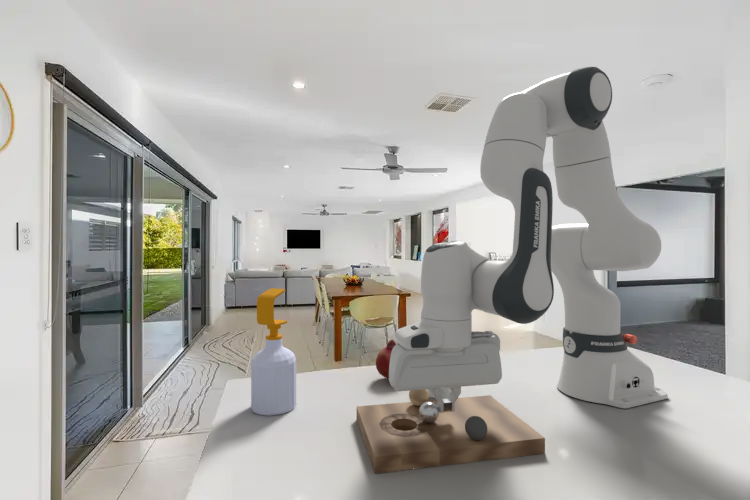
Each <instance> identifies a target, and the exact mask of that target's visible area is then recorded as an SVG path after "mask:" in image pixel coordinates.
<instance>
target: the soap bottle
mask: <svg viewBox="0 0 750 500" xmlns="http://www.w3.org/2000/svg"><path fill="white" fill-rule="evenodd" d="M284 293H286V289H285V288H278V287H277V288H275V287H273V288H272V287H271V288H268V289H267V290H265V291H264V292H263V293H261V294H260V295H258V297H257V299H256V322H257V324H258V325H263V326H266V330H267V329H268V330H269V334H267V335H266V336H265V346H264V347H263V348H261V350H259V351H258V352H256V353H255V354H254V355H253V356H252V359H251V362H250V370H251V371H250V372H251V373H250V378H251V379H250V380H251V381H250V387H251V388H250V389H251V391H250V393H251V394H250V397H251V398H250V400H251V401H250V404H251V406H250V408H251V411H252V412H253V413H255V414H256V415H259V416H277V415H278V416H279V415H283V414H285V413H288V412H290V411H292V410H293V409H294V408H295V406H296V405H297V358H296V356H295V353H294V352H293V351H292V350H290V349H288V348H287V347H284V346H283V334H279V329H281V328H282V327H281V326H282V325H285V324H288V320H283V319H275V317H274V316H275V315H274V314H275V313H274V311H275V309H274V308H275V300H276V299H277V298H278V297H279V296H282V294H284Z"/></svg>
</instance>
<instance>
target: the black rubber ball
mask: <svg viewBox="0 0 750 500" xmlns="http://www.w3.org/2000/svg"><path fill="white" fill-rule="evenodd" d="M465 430H466V433H467V434H468V436H469V437H470V438H472V439H474V440H480V439H483V438H484V437H485V436H486V434H487V424H486V422H485V421H484V420H483V419H482V418H481V417H478V416H472V417H470V418H468V419H467V421H466V423H465Z"/></svg>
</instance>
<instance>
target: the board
mask: <svg viewBox="0 0 750 500" xmlns="http://www.w3.org/2000/svg"><path fill="white" fill-rule="evenodd" d="M428 402H433V403H434V404H435V405H436V406H437V399H429V401H428ZM419 409H420V406H416V405H414V404H413V403H412V402H411V401H407V402H405V401H404V402H395V403H382V404H370V405H359V406H357V405H356V422H357V425H358V427H359V430H360V434H361V436H362V437H361V438H362V439H363V442H364V446H365V448H366V452H367V455H368V458H369V460H370V463H371V466H372V469H373V472H374V474H375V475H376V474H383V473H384V474H385V473H386V474H387V473H393V472H401V470H403V471H408V470H407V469H411V470H416V469H415V468H419V469H423V468H422V467H428V468H434V466H436V467H443V466H451V465H458V464H459V465H460V464H468V463H475V462H476V463H477V462H485V461H494V460H500V459H509V458H519V457H526V456H535V455H541V454H546V437H544V436H543V435H542V434H541V433H539V432H538V430H537V431H536V429H534V428H533V427H532V426H530V425H529V424H528V423H527V422H525V421H524V420H523V419H521V418H520V417H518V416H517V415H516V414H515V413H513V412H512V411H511V410H510V409H509V408H507V407H506V406H504V405H503V404H502V403H500V402H499V401H498V400H497V399H496V398H494V397H493V396H491V395H489V394H488V395H477V396H468V397H467V396H465V397H458V398H457V400H456V402H455V411H453V412H443V413H440V412H439V417H438V419H437V420H436V421H435V422H433V423H426V422H424V421H423V420H422V419H421V417H420V415H419ZM472 416H478V417H481V418H482V419H483V420H484V421H485V422H486V424H487V434H486V436H485V437H484V438H483V439H480V440H474V439H472V438H470V437H469V436H468V434H467V433H466V430H465V423H466V421H467V419H468V418H470V417H472ZM413 468H414V469H413Z"/></svg>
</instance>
